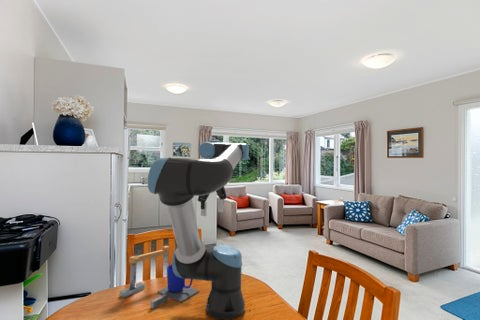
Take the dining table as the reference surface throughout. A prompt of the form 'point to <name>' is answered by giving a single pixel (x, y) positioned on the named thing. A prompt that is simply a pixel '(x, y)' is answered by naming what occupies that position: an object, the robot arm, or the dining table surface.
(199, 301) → the dining table surface
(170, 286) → the mug
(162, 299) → the dock
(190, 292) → the coaster
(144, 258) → the ball-tipped wooden rod
